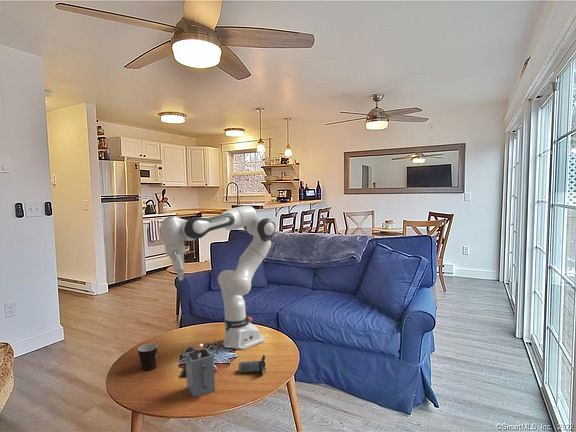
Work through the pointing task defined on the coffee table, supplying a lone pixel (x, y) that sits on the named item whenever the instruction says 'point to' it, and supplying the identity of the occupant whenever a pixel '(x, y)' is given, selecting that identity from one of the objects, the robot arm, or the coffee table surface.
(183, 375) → the phone
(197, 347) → the ball-topped press plunger
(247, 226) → the robot arm
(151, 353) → the coffee mug
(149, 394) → the coffee table surface
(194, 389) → the box
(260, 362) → the beverage can
